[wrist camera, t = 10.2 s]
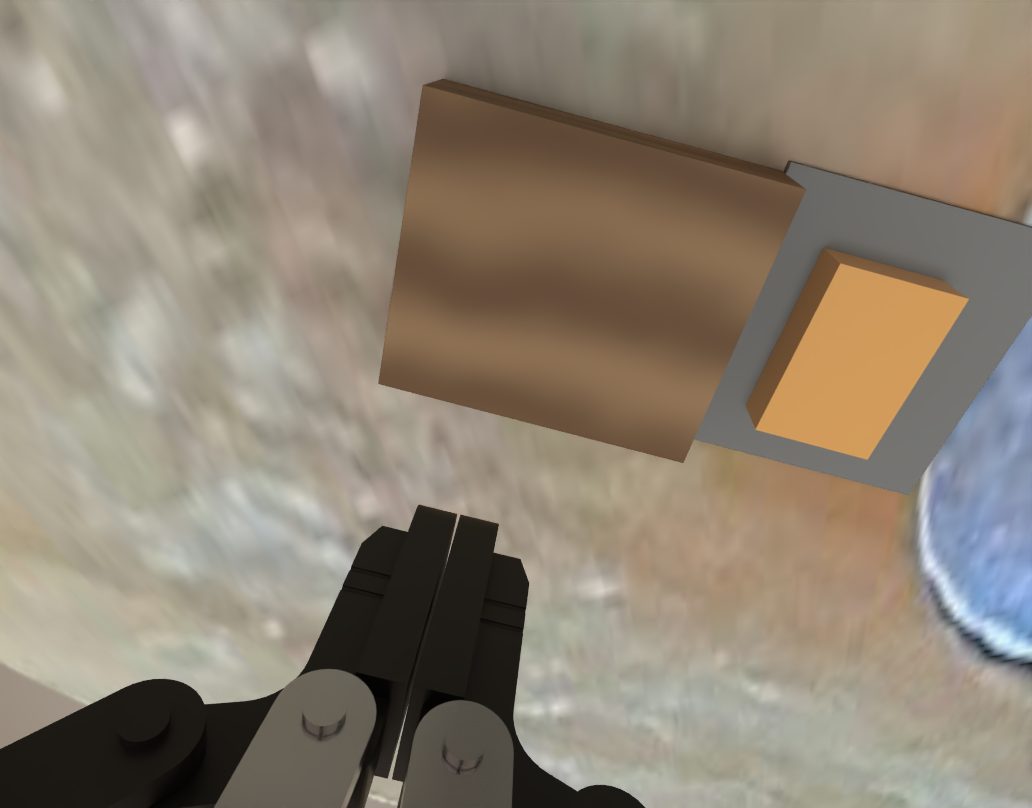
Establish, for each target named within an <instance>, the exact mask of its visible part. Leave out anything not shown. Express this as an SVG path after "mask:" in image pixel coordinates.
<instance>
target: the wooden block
mask: <svg viewBox="0 0 1032 808" xmlns="http://www.w3.org/2000/svg"><path fill="white" fill-rule="evenodd" d="M805 192H806V189H805V188H804V187H802V186H801V185H800V184H798V183H797V182H796V181H794V180H793V179H792V178H790V177H789V176H788V175H786V174H785V173H784V172H782V171H779V170H775V169H772V168H768V167H764V166H761V165H757V164H753V163H750V162H746V161H742V160H739V159H735V158H731V157H728V156H724V155H720V154H717V153H713V152H709V151H706V150H702V149H698V148H695V147H691V146H687V145H684V144H680V143H676V142H673V141H669V140H665V139H662V138H658V137H654V136H651V135H647V134H643V133H640V132H636V131H632V130H628V129H625V128H621V127H617V126H614V125H610V124H606V123H603V122H599V121H595V120H592V119H588V118H584V117H581V116H577V115H573V114H570V113H566V112H562V111H559V110H555V109H551V108H548V107H544V106H540V105H537V104H533V103H529V102H526V101H522V100H518V99H515V98H511V97H507V96H504V95H500V94H496V93H493V92H489V91H485V90H482V89H478V88H474V87H471V86H467V85H463V84H460V83H456V82H452V81H449V80H445V79H441V80H438V81H435V82H432V83H429V84H425V85H423V88H422V95H421V101H420V108H419V115H418V121H417V128H416V135H415V142H414V148H413V155H412V162H411V168H410V175H409V182H408V189H407V195H406V202H405V209H404V215H403V222H402V229H401V235H400V242H399V249H398V256H397V262H396V269H395V276H394V282H393V289H392V296H391V302H390V309H389V316H388V323H387V329H386V336H385V343H384V349H383V356H382V363H381V369H380V376H379V383H378V384H381V385H385V386H389V387H392V388H396V389H400V390H404V391H408V392H412V393H416V394H419V395H423V396H427V397H431V398H435V399H439V400H443V401H446V402H450V403H454V404H458V405H462V406H466V407H470V408H473V409H477V410H481V411H485V412H489V413H493V414H496V415H500V416H504V417H508V418H512V419H516V420H520V421H523V422H527V423H531V424H535V425H539V426H543V427H547V428H550V429H554V430H558V431H562V432H566V433H570V434H574V435H577V436H581V437H585V438H589V439H593V440H597V441H601V442H604V443H608V444H612V445H616V446H620V447H624V448H627V449H631V450H635V451H639V452H643V453H647V454H651V455H654V456H658V457H662V458H666V459H670V460H674V461H678V462H681V463H683V462H684V460H685V458H686V456H687V453H688V451H689V449H690V447H691V445H692V442H693V440H694V438H695V436H696V433H697V431H698V429H699V427H700V425H701V422H702V420H703V418H704V416H705V414H706V411H707V409H708V407H709V405H710V402H711V400H712V398H713V396H714V394H715V391H716V389H717V387H718V385H719V382H720V380H721V378H722V376H723V374H724V371H725V369H726V367H727V365H728V362H729V360H730V358H731V356H732V354H733V351H734V349H735V347H736V345H737V342H738V340H739V338H740V336H741V334H742V331H743V329H744V327H745V325H746V323H747V320H748V318H749V316H750V314H751V311H752V309H753V307H754V305H755V303H756V300H757V298H758V296H759V294H760V291H761V289H762V287H763V285H764V283H765V280H766V278H767V276H768V274H769V271H770V269H771V267H772V265H773V263H774V260H775V258H776V256H777V254H778V251H779V249H780V247H781V245H782V243H783V240H784V238H785V236H786V234H787V232H788V229H789V227H790V225H791V223H792V220H793V218H794V216H795V214H796V212H797V209H798V207H799V205H800V203H801V200H802V198H803V196H804V194H805Z"/></svg>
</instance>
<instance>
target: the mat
mask: <svg viewBox="0 0 1032 808" xmlns="http://www.w3.org/2000/svg"><path fill="white" fill-rule="evenodd" d="M784 173H785V174H786V175H788V176H789V177H790V178H792V179H793V180H794V181H796V182H797V183H798V184H800V185H801V186H802V187H804V188H805V189H806V192H805V194H804V196H803V198H802V200H801V203H800V205H799V207H798V209H797V212H796V214H795V216H794V218H793V220H792V223H791V225H790V227H789V229H788V232H787V234H786V236H785V238H784V240H783V243H782V245H781V247H780V249H779V251H778V254H777V256H776V258H775V260H774V263H773V265H772V267H771V269H770V271H769V274H768V276H767V278H766V280H765V283H764V285H763V287H762V289H761V291H760V294H759V296H758V298H757V300H756V303H755V305H754V307H753V309H752V311H751V314H750V316H749V318H748V320H747V323H746V325H745V327H744V329H743V331H742V334H741V336H740V338H739V340H738V342H737V345H736V347H735V349H734V351H733V354H732V356H731V358H730V360H729V362H728V365H727V367H726V369H725V371H724V374H723V376H722V378H721V380H720V382H719V385H718V387H717V389H716V391H715V394H714V396H713V398H712V400H711V402H710V405H709V407H708V409H707V411H706V414H705V416H704V418H703V420H702V422H701V425H700V427H699V429H698V431H697V433H696V436H695V438H694V439H695V440H699V441H702V442H706V443H710V444H714V445H718V446H722V447H725V448H729V449H733V450H737V451H741V452H745V453H748V454H752V455H756V456H760V457H764V458H768V459H771V460H775V461H779V462H783V463H787V464H791V465H795V466H798V467H802V468H806V469H810V470H814V471H818V472H821V473H825V474H829V475H833V476H837V477H841V478H844V479H848V480H852V481H856V482H860V483H864V484H867V485H871V486H875V487H879V488H883V489H887V490H890V491H894V492H898V493H902V494H906V495H909V494H910V492H911V491H912V489H913V488H914V486H915V485H916V484H917V482H918V481H919V479H920V478H921V476H922V475H923V473H924V472H925V470H926V469H927V467H928V466H929V465H930V463H931V462H932V460H933V459H934V457H935V456H936V454H937V453H938V451H939V450H940V449H941V447H942V446H943V444H944V443H945V441H946V440H947V438H948V437H949V435H950V434H951V432H952V431H953V430H954V428H955V427H956V425H957V424H958V422H959V421H960V419H961V418H962V416H963V415H964V414H965V412H966V411H967V409H968V408H969V406H970V405H971V403H972V402H973V400H974V399H975V398H976V396H977V395H978V393H979V392H980V390H981V389H982V387H983V386H984V384H985V383H986V381H987V380H988V379H989V377H990V376H991V374H992V373H993V371H994V370H995V368H996V367H997V365H998V364H999V363H1000V361H1001V360H1002V358H1003V357H1004V355H1005V354H1006V352H1007V351H1008V349H1009V348H1010V346H1011V345H1012V344H1013V342H1014V341H1015V339H1016V338H1017V336H1018V335H1019V333H1020V332H1021V330H1022V329H1023V328H1024V326H1025V325H1026V323H1027V322H1028V320H1029V319H1030V317H1031V316H1032V227H1030V226H1026V225H1023V224H1019V223H1015V222H1012V221H1008V220H1004V219H1001V218H997V217H993V216H990V215H986V214H982V213H979V212H975V211H971V210H968V209H964V208H960V207H957V206H953V205H949V204H946V203H942V202H938V201H935V200H931V199H927V198H924V197H920V196H916V195H913V194H909V193H905V192H902V191H898V190H894V189H891V188H887V187H883V186H880V185H876V184H872V183H869V182H865V181H861V180H858V179H854V178H850V177H847V176H843V175H839V174H836V173H832V172H828V171H825V170H821V169H817V168H814V167H810V166H806V165H803V164H799V163H795V162H792V161H789V162H788V165H787V167H786V169H785V172H784ZM823 248H828V249H831V250H835V251H838V252H842V253H846V254H849V255H853V256H856V257H860V258H864V259H867V260H871V261H875V262H878V263H882V264H885V265H889V266H893V267H896V268H900V269H903V270H907V271H911V272H914V273H918V274H922V275H925V276H929V277H932V278H936V279H940V280H943V281H945V282H946V283H948V284H949V285H950V286H952V287H953V288H955V289H956V290H957V291H959V292H960V293H962V294H963V295H964V296H966V297H967V298H969V300H968V302H967V303H966V305H965V307H964V308H963V310H962V311H961V313H960V314H959V316H958V318H957V319H956V321H955V322H954V324H953V326H952V327H951V329H950V330H949V332H948V333H947V335H946V337H945V338H944V340H943V341H942V343H941V344H940V346H939V348H938V349H937V351H936V352H935V354H934V356H933V357H932V359H931V360H930V362H929V363H928V365H927V367H926V368H925V370H924V371H923V373H922V375H921V376H920V378H919V379H918V381H917V382H916V384H915V386H914V387H913V389H912V390H911V392H910V393H909V395H908V397H907V398H906V400H905V401H904V403H903V405H902V406H901V408H900V409H899V411H898V412H897V414H896V416H895V417H894V419H893V420H892V422H891V424H890V425H889V427H888V428H887V430H886V431H885V433H884V435H883V436H882V438H881V439H880V441H879V442H878V444H877V446H876V447H875V449H874V450H873V452H872V454H871V455H870V457H869V458H868V460H867V459H863V458H859V457H855V456H852V455H848V454H844V453H840V452H837V451H833V450H829V449H825V448H822V447H818V446H814V445H811V444H807V443H803V442H799V441H796V440H792V439H788V438H784V437H781V436H777V435H773V434H769V433H766V432H762V431H758V430H755V427H754V425H753V422H752V420H751V418H750V415H749V413H748V410H747V408H746V404H747V402H748V400H749V398H750V396H751V394H752V392H753V390H754V388H755V386H756V384H757V382H758V380H759V378H760V376H761V374H762V372H763V370H764V368H765V365H766V363H767V361H768V359H769V357H770V355H771V353H772V351H773V349H774V347H775V345H776V343H777V341H778V339H779V337H780V335H781V333H782V331H783V329H784V327H785V325H786V323H787V321H788V319H789V317H790V315H791V313H792V311H793V309H794V306H795V304H796V302H797V300H798V298H799V296H800V294H801V292H802V290H803V288H804V286H805V284H806V282H807V280H808V278H809V276H810V274H811V272H812V270H813V268H814V266H815V264H816V262H817V260H818V258H819V256H820V254H821V252H822V250H823Z"/></svg>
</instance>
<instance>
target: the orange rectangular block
mask: <svg viewBox="0 0 1032 808" xmlns="http://www.w3.org/2000/svg"><path fill="white" fill-rule="evenodd" d="M968 300H969V298H967V297H966V296H964V295H963V294H962V293H960V292H959V291H957V290H956V289H955V288H953V287H952V286H950V285H949V284H948V283H946V282H945V281H943V280H940V279H936V278H932V277H929V276H925V275H922V274H918V273H914V272H911V271H907V270H903V269H900V268H896V267H893V266H889V265H885V264H882V263H878V262H875V261H871V260H867V259H864V258H860V257H856V256H853V255H849V254H846V253H842V252H838V251H835V250H831V249H828V248H823V250H822V252H821V254H820V256H819V258H818V260H817V262H816V264H815V266H814V268H813V270H812V272H811V274H810V276H809V278H808V280H807V282H806V284H805V286H804V288H803V290H802V292H801V294H800V296H799V298H798V300H797V302H796V304H795V306H794V309H793V311H792V313H791V315H790V317H789V319H788V321H787V323H786V325H785V327H784V329H783V331H782V333H781V335H780V337H779V339H778V341H777V343H776V345H775V347H774V349H773V351H772V353H771V355H770V357H769V359H768V361H767V363H766V365H765V368H764V370H763V372H762V374H761V376H760V378H759V380H758V382H757V384H756V386H755V388H754V390H753V392H752V394H751V396H750V398H749V400H748V402H747V404H746V408H747V410H748V413H749V415H750V418H751V420H752V422H753V425H754V427H755V430H758V431H762V432H766V433H769V434H773V435H777V436H781V437H784V438H788V439H792V440H796V441H799V442H803V443H807V444H811V445H814V446H818V447H822V448H825V449H829V450H833V451H837V452H840V453H844V454H848V455H852V456H855V457H859V458H863V459H867V460H868V458H869V457H870V455H871V454H872V452H873V450H874V449H875V447H876V446H877V444H878V442H879V441H880V439H881V438H882V436H883V435H884V433H885V431H886V430H887V428H888V427H889V425H890V424H891V422H892V420H893V419H894V417H895V416H896V414H897V412H898V411H899V409H900V408H901V406H902V405H903V403H904V401H905V400H906V398H907V397H908V395H909V393H910V392H911V390H912V389H913V387H914V386H915V384H916V382H917V381H918V379H919V378H920V376H921V375H922V373H923V371H924V370H925V368H926V367H927V365H928V363H929V362H930V360H931V359H932V357H933V356H934V354H935V352H936V351H937V349H938V348H939V346H940V344H941V343H942V341H943V340H944V338H945V337H946V335H947V333H948V332H949V330H950V329H951V327H952V326H953V324H954V322H955V321H956V319H957V318H958V316H959V314H960V313H961V311H962V310H963V308H964V307H965V305H966V303H967V302H968Z"/></svg>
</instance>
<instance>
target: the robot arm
mask: <svg viewBox="0 0 1032 808" xmlns="http://www.w3.org/2000/svg"><path fill="white" fill-rule="evenodd" d="M456 518H457V514H455V513H451V512H447V511H443V510H439V509H435V508H431V507H427V506H422V505H418V507H417V509H416V512H415V514H414V517H413V520H412V522H411V525H410V528H409V531H408V532H406V531H402V530H398V529H393V528H389V527H385V526H382V527H380V528H379V529H378V530H377V531H376V532H374V533H373V534H372V535H371V536H370V537H368V538H367V539H366V540H365V541H364V542H363V543H362V544H361V546H360V548H359V551H358V553H357V555H356V557H355V559H354V562H353V564H352V566H351V570H350V571H349V573H348V575H347V577H346V579H345V581H344V584H343V587H342V590H340V592H339V595H338V597H337V599H336V601H335V604H334V606H333V608H332V610H331V612H330V615H329V617H328V619H327V621H326V623H325V626H324V628H323V630H322V632H321V634H320V637H319V639H318V641H317V643H316V645H315V648H314V650H313V652H312V654H311V656H310V659H309V661H308V663H307V664H306V666H305V668H304V669H303V671H302V672H301V673H300V675H299V676H298V677H297V678H296V679H294V680H293V681H292V682H290V683H289V684H288V685H287V686H286V687H285V688H283V689H281V690H280V691H278V692H276V693H274V694H271V695H269V696H267V697H264V698H260V699H256V700H251V701H243V702H230V703H218V704H205V705H204V703H203V701H202V699H201V697H200V696H199V694H198V693H197V692H196V691H195V690H194V689H193V688H191V687H190V686H188V685H186V684H184V683H182V682H179V681H175V680H169V679H152V680H146V681H142V682H138V683H135V684H132V685H130V686H127V687H125V688H123V689H121V690H119V691H117V692H115V693H113V694H111V695H109V696H107V697H105V698H103V699H101V700H99V701H97V702H95V703H93V704H90V705H88V706H86V707H84V708H82V709H80V710H78V711H76V712H74V713H72V714H70V715H69V716H66V717H64V718H62V719H60V720H58V721H56V722H54V723H52V724H50V725H48V726H46V727H44V728H42V729H40V730H38V731H36V732H34V733H32V734H30V735H28V736H26V737H24V738H22V739H20V740H18V741H16V742H14V743H12V744H10V745H8V746H6V747H4V748H2V749H0V808H364V807H365V804H366V801H367V797H368V794H369V790H370V787H371V784H372V780H373V777H374V775H375V776H379V777H383V778H387V779H388V775H389V772H390V768H391V765H392V761H393V758H394V754H395V750H396V747H397V743H398V740H399V736H400V732H401V729H402V725H403V722H404V718H405V714H406V718H405V723H404V727H403V732H402V736H401V741H400V745H399V750H398V754H397V759H396V763H395V768H394V772H393V777H392V779H393V780H397V781H402V782H403V785H402V789H401V794H400V798H399V802H398V806H397V808H645V807H644V806H643V805H642V804H641V803H640V802H639V801H638V800H637V799H636V798H634V797H633V796H632V795H630V794H629V793H627V792H625V791H623V790H621V789H618V788H616V787H613V786H607V785H593V786H588V787H586V788H583V789H581V790H579V791H578V792H577V791H576V790H574V789H573V788H571V787H569V786H568V785H566V784H565V783H563V782H561V781H560V780H558V779H556V778H555V777H553V776H552V775H550V774H548V773H547V772H546V771H544V770H543V769H541V768H540V767H539V766H538V765H537V764H536V763H535V762H533V761H532V760H531V758H530V757H529V756H528V755H527V753H526V752H525V750H524V749H523V747H522V746H521V744H520V742H519V739H518V737H517V735H516V731H515V727H514V720H513V711H514V702H515V694H516V686H517V678H518V670H519V662H520V653H521V645H522V637H523V629H524V621H525V610H526V605H527V597H528V589H529V581H528V579H527V576H526V573H525V570H524V568H523V565H522V562H521V559H518V558H514V557H509V556H505V555H501V554H497V553H493V552H494V547H495V542H496V537H497V532H498V526H499V524H497V523H493V522H489V521H485V520H481V519H477V518H472V517H468V516H464V515H460V518H459V522H458V525H457V529H456V532H455V536H454V540H453V543H452V547H451V550H450V554H449V549H450V545H451V540H452V536H453V532H454V527H455V523H456ZM448 554H449V557H448ZM447 558H448V561H447ZM446 562H447V565H446ZM445 567H446V568H445ZM444 571H445V572H444ZM407 707H408V709H407ZM406 711H407V713H406Z"/></svg>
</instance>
